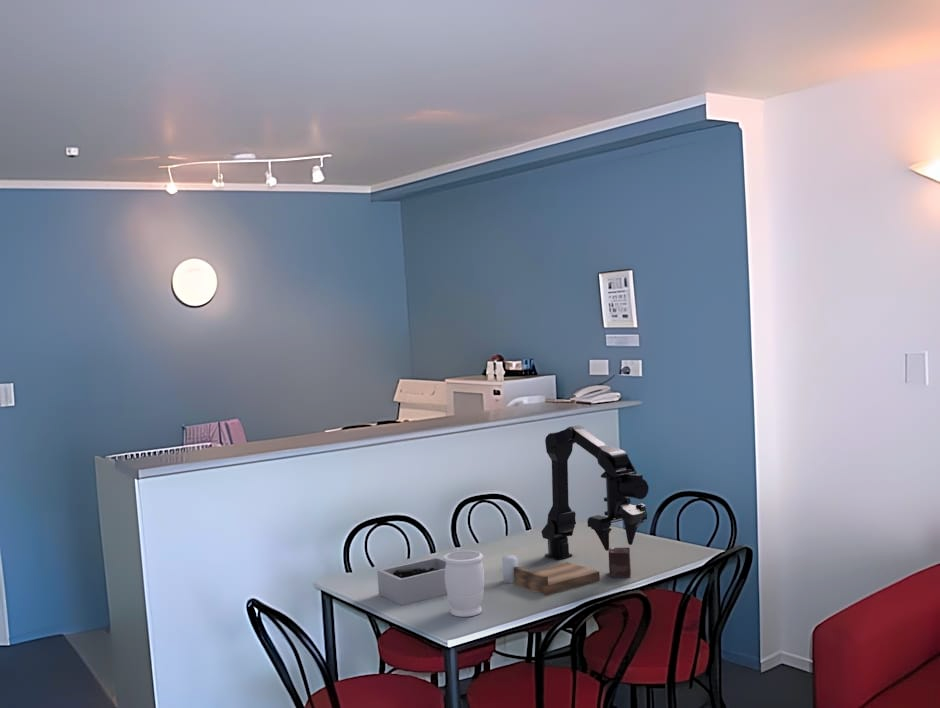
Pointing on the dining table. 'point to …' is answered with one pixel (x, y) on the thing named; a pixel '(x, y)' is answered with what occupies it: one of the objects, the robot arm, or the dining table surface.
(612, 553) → the box
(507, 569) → the white block
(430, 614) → the dining table surface
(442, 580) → the box
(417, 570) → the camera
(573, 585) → the striped wooden slab
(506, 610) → the dining table surface
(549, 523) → the robot arm
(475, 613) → the jar
